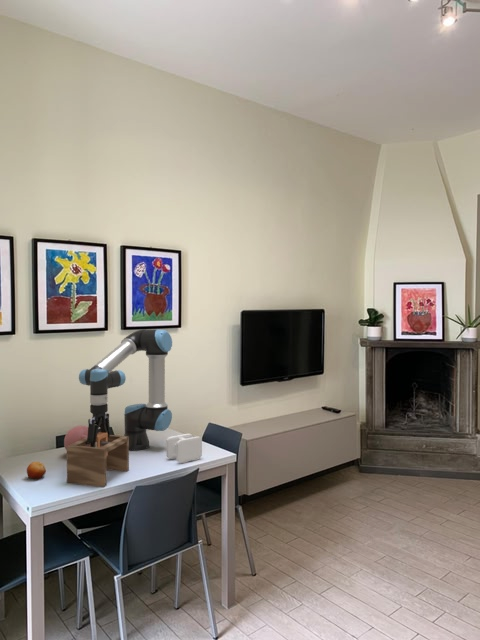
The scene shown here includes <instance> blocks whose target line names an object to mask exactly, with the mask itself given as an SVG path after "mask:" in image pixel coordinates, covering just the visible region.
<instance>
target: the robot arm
mask: <svg viewBox="0 0 480 640" xmlns="http://www.w3.org/2000/svg"><path fill="white" fill-rule="evenodd" d="M172 347H173V339H172V336H171V334H170V333H169V331H168V330H165V329H146V328H145V329H144V328H143V329H142V328H141V329H139V330H136V331H134V332H132V333H130V334H128V335H127V336H125V337H124V338H123V339H122V340H121V342H120V344H119V345H117V346H116V347H115V348H114V349H112V350H111V351H110V352H109V353H108V354H106V355H105V356H104V357H103V358H102V359H101V360H100V361H98V362H97V363H96V364H94V365H93V366H92V367H91V368H87V369H86V368H85V369H81V371H80V372H79V373H78V374H79V375H78V381H79V383H80V384H81V385H83V386H88V387H90V389H89V390H90V394H89V404H90V406H89V407H90V408H89V409H90V410H89V411H90V413H91V414H92V417H91V418H89V419H88V421H87V422H88V426H87V427H88V437H87V442H90V447H97V442H96V438H97V433H99V429H100V432H105V433H108V437H109V436H110V435H111V427H110V420H109V419H110V413H108V409H109V408H108V406H109V404H108V399H109V398H108V397H109V396H108V393H109V392H108V391H109V390H108V389H112V388H118V387H121V386H123V385H124V384H125V383H126V381H127V380H126V378H127V377H126V374H125V372H124V371H122V370H120V369H119V370H114V369H116V368H117V367H118V366H119V365H120V364H121V363H122V362H123V361H125V360H126V359H127V358H128V357H129V356H130V355H134V354H135V353H137V352H141V351H142V352H145V356H146V357H147V358H148V402H147V403H135V404H130V405H127V406H125V408H124V413H123V415H124V435H123V436H129V451H141V450H145V449H147V448H149V447H150V440H149V437H148V433H147V430H148V431H149V430H151V431H155V432H164V431H166V430H167V429H168V428H169V427H170V425H171V423H172V419H173V413H172V410H171V409H169V408H168V404H167V402H166V400H165V399H166V398H165V397H166V395H165V394H166V392H165V390H166V381H165V380H166V378H165V377H166V376H165V373H166V369H165V367H166V365H165V363H166V357H167V356H168V353H169V352H170V351H171V350H172Z"/></svg>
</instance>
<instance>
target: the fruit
mask: <svg viewBox="0 0 480 640" xmlns="http://www.w3.org/2000/svg"><path fill="white" fill-rule="evenodd" d="M46 471H47V470H46V467H45V465H44V464H43V463H42V462H40V461H32V462H30V463H29V464H28V466H27V468H26V474H27V480H28V479H32V480H40V479H41V478H43V476H45V474H46Z"/></svg>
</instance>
